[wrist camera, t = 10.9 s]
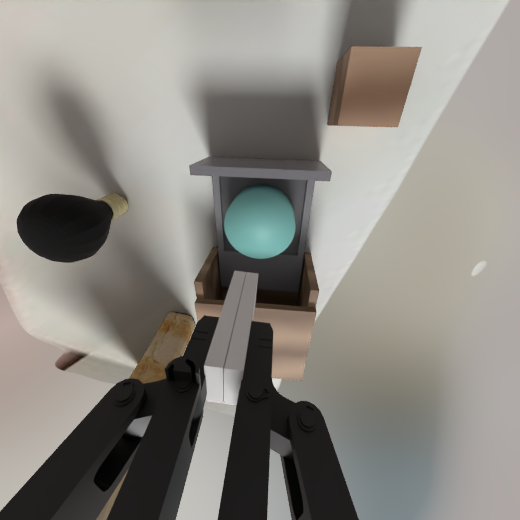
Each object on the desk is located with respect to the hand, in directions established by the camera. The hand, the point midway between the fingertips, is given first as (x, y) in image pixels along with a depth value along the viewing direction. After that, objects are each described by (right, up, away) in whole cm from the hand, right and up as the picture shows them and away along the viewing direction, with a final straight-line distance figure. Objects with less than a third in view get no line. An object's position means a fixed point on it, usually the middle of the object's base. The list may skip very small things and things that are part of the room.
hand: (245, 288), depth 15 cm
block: (+11, +18, +7) cm, 22 cm away
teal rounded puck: (+1, +7, +13) cm, 15 cm away
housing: (+1, -4, +21) cm, 22 cm away
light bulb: (-18, +10, +15) cm, 25 cm away
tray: (+1, +6, +15) cm, 16 cm away
